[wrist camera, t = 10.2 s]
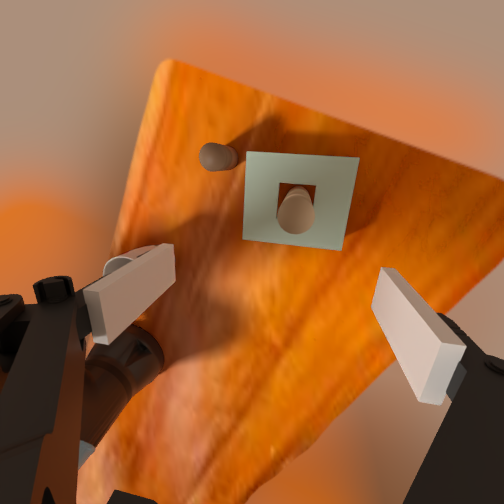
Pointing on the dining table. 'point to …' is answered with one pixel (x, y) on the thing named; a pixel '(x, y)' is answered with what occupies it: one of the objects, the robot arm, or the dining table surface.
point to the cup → (126, 259)
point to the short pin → (218, 157)
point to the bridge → (298, 172)
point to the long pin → (296, 211)
